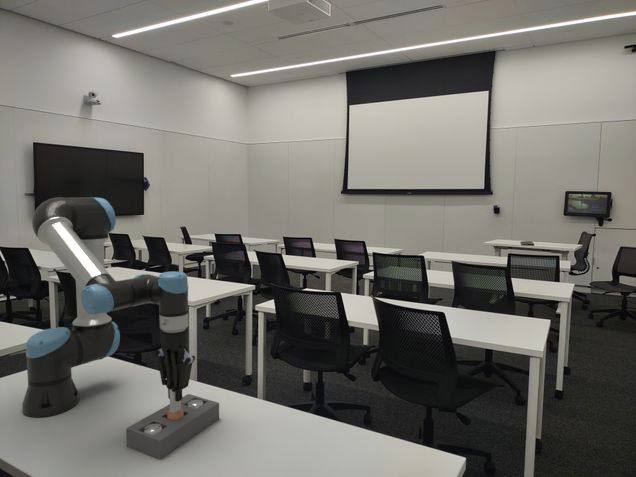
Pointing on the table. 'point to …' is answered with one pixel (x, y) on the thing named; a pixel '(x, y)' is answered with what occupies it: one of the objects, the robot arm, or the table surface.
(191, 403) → the steel button far
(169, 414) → the terracotta button
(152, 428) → the steel button near
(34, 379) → the robot arm
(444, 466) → the table surface
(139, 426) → the button console
